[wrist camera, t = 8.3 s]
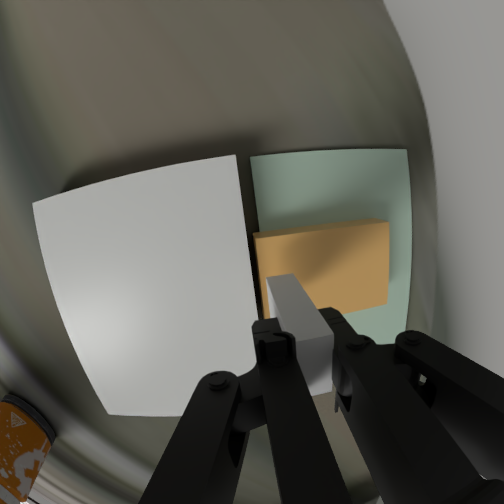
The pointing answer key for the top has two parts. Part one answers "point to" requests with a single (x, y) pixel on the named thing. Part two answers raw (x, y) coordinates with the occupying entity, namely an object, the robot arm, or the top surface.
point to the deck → (153, 281)
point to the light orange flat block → (329, 262)
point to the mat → (345, 212)
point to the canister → (21, 448)
